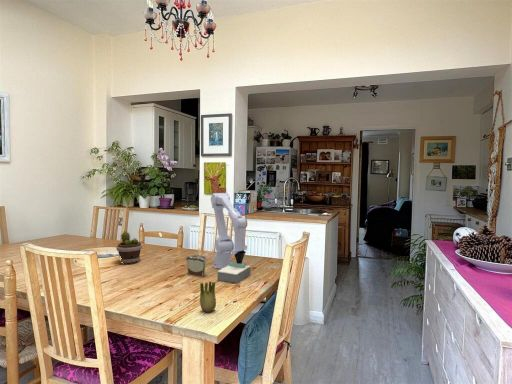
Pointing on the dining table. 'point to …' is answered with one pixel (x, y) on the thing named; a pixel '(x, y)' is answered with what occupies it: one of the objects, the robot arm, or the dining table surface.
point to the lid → (234, 268)
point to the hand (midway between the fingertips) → (239, 264)
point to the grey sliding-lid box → (233, 276)
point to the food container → (196, 265)
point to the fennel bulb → (207, 297)
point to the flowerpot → (129, 249)
